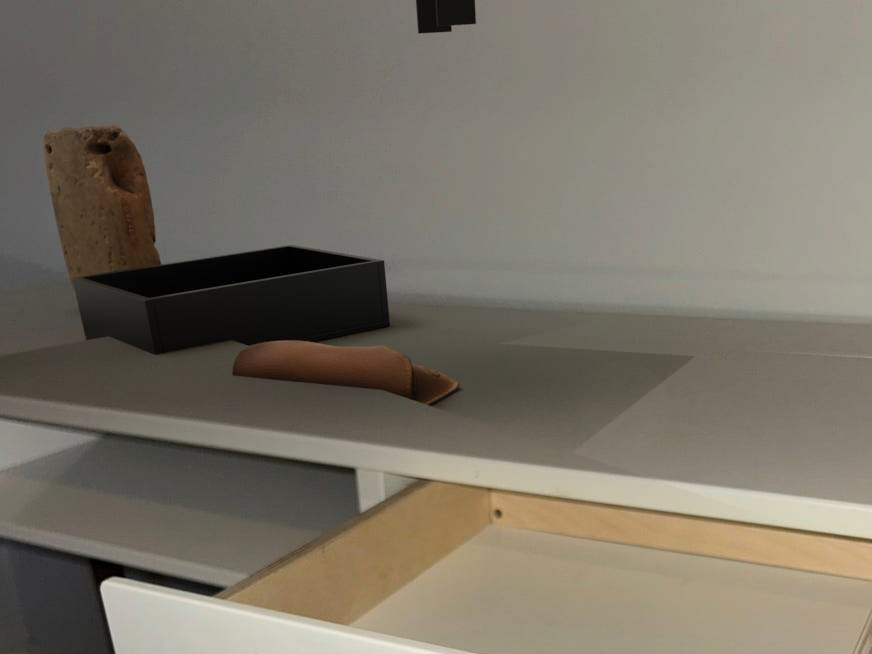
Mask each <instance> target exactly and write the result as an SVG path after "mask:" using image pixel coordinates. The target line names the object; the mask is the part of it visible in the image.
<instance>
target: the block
mask: <svg viewBox="0 0 872 654" xmlns="http://www.w3.org/2000/svg"><path fill="white" fill-rule="evenodd" d="M42 149H43V150H42V151H43V158H44V162H45V163H44V164H45V170H46V176H47V181H48V188H49V194H50V198H51V204H52V207H53V209H52V210H53V213H54V219H55V221H56V227H57V233H58V238H59V242H60V246H61V250H62V251H61V252H62V256H63V258H64V262H65V267H66V271H67V274H68V279H69V282H70V284H71V286H72V289H73V290H74V291H75V289H74V284H73V280H72V278H73V277H80V276H86V275H93V274H100V273H106V272H113V271H120V270H127V269H133V268H140V267H147V266H153V265H160V264H162V261H161V257H160V253H159V251H158V249H157V248H156V246H155V244H156V241H157V238H156V224H155V214H154V208H153V201H152V195H151V190H150V185H149V182H148V177H147V172H146V168H145V165H144V163H143V159H142V156H141V154H140V152H139V150H138V148H137V146H136V145H135V143H134V142H133V140H132V139H131V138H130V137H129V135H128V134H127V133H126V132H125V131H124V130H123V129H122V127H120V126H118V125H117V124H111V125H97V126H84V127H83V126H82V127H63V128H61V129H57V130H52V129H48V130H46V131H44V132H43V134H42Z"/></svg>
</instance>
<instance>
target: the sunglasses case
mask: <svg viewBox="0 0 872 654" xmlns="http://www.w3.org/2000/svg"><path fill="white" fill-rule="evenodd" d="M231 371H232V372H231V375H232V376H233V377H243V378H253V379H254V378H255V379H262V380H274V381H283V382H296V383H307V384H315V385H316V384H317V385H326V386H335V387H337V386H338V387H346V388H347V387H349V388H358V389H359V388H360V389H369V390H380V391H384V392H386V393H390V394H393V395H395V396H399V397H403V398H406V399H409V400H412V401H415V402H416V403H417V402H418V403H421V404H424V405H426V406H431V405H435V404H437V403H438V402H440V401H442V400H443V399H445V398H447V397H448V396H449V395H450V394H452V393H454V392H455V391H456V390H457V389H459V387H460V383H459V382H458V380H454V379H452V378H451V377H450V376H448V375H446V374H444V373H442V372H440V371H438V370H435V369H432V368H429V367H426V366H423V365H420V364H415V363H413V362H412V360H411V359H410V357H408V355H406V354H404V353H403V352H400V351H399V350H396V349H394V348H392V347H390V346H387V345H378V344H377V345H374V346H373V345H371V346H354V345H353V346H352V345H348V346H336V345H330V344H326V343H325V344H323V343H319V342H316V341H315V342H308V341H292V340H285V341H270V342H263V343H259V344H255V345H251V346H248V345H247V346H246V347H244V348H242V349H241V350H240V351H239V352H238V353H237V355H236V357H235V359H234V362H233V365H232V369H231Z"/></svg>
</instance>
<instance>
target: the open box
mask: <svg viewBox="0 0 872 654" xmlns="http://www.w3.org/2000/svg"><path fill="white" fill-rule="evenodd" d="M72 280H73V284H74V288H73V290H74V289H75V290H74V293H75V297H76V302H77V307H78V310H79V315H80V320H81V324H82V328H83V333H84V337H85V341H91V340H96V339H102V338H107V337H109V338H112V339H114V340H117V341H119V342H122V343H124V344H127V345H130V346H132V347H135V348H137V349H139V350H141V351H145V352H147V353H150V354H152V355H155V356H157V355H162V354H166V353H172V352H177V351H182V350H187V349H193V348H198V347H203V346H209V345H212V344H213V345H214V344H218V343H224V342H227V341H228V342H229V341H232V342H235V343H238V344H241V345H244V346H247V347H248V346H251V345H255V344H259V343H263V342H270V341H285V340H292V341H308V342H315V343H316V342H319V341H325V340H330V339H333V338H339V337H344V336H350V335H353V334H359V333H363V332H368V331H369V332H370V331H374V330H378V329H383V328H387V327H391V324H390V323H391V322H390V311H389V310H390V309H389V300H388V299H389V298H388V288H387V277H386V266H385V260H384V259H377V258H372V257H366V256H361V255H354V254H348V253H343V252H338V251H337V252H336V251H331V250H325V249H320V248H313V247H307V246H301V245H295V244H288V245H282V246H275V247H268V248H261V249H254V250H247V251H240V252H233V253H228V254H227V253H226V254H222V255H221V254H220V255H214V256H208V257H200V258H193V259H186V260H182V261H181V260H180V261H174V262H167V263H161V264H160V265H153V266H147V267H140V268H133V269H127V270H120V271H113V272H106V273H100V274H93V275H86V276H80V277H73V278H72Z"/></svg>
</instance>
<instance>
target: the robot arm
mask: <svg viewBox="0 0 872 654" xmlns="http://www.w3.org/2000/svg"><path fill="white" fill-rule="evenodd" d="M415 9H416V22H417V34H437V33H451V32H452V31H453V29H452V28H453V27H452V26H467V25H476V24H477V15H476V14H477V13H476V0H415Z"/></svg>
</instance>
